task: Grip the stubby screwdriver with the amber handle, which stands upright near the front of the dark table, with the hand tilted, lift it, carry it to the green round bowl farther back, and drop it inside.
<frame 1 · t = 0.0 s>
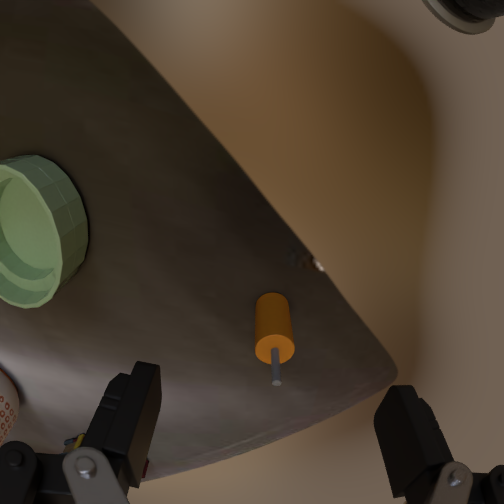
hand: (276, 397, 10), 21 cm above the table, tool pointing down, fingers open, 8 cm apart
screwdriver: (272, 306, 33), on the table
planter: (0, 379, 42), on the table
green round bowl: (35, 221, 30), on the table
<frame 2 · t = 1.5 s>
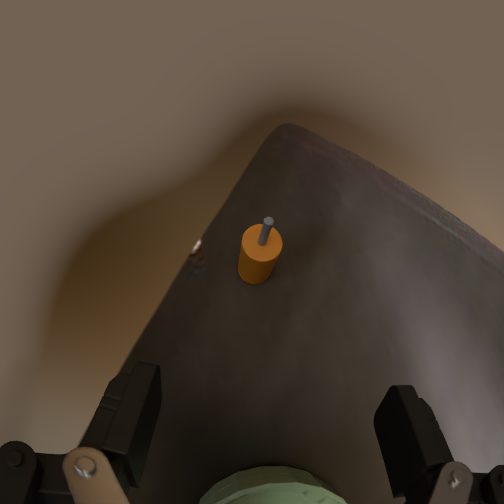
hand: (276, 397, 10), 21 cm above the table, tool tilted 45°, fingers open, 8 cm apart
screwdriver: (254, 268, 34), on the table
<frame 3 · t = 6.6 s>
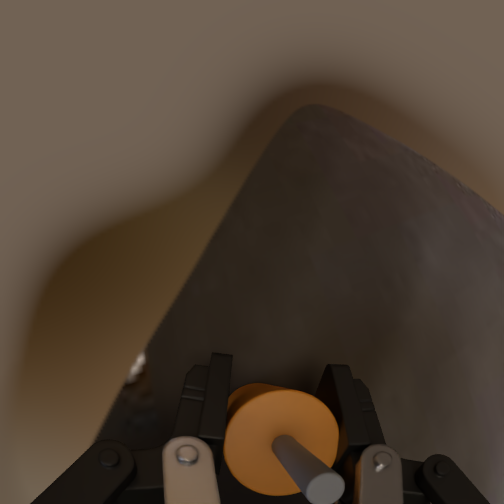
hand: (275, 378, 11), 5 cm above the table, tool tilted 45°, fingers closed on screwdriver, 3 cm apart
screwdriver: (257, 416, 14), on the table, touching gripper
when the fingers open (5 cm above the table, at t = 16.1 s): screwdriver stays where it is, resting on green round bowl.
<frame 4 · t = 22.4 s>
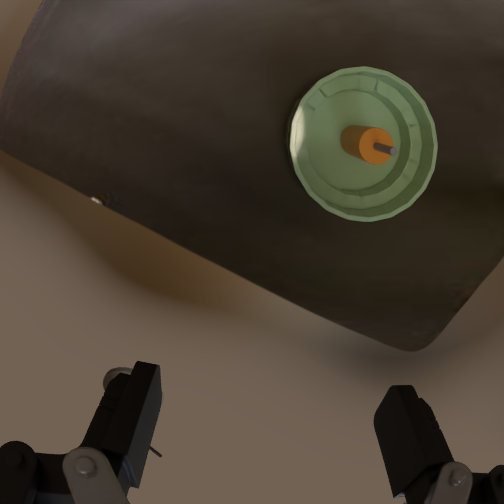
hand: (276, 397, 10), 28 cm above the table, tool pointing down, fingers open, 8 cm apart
screwdriver: (354, 140, 33), point 1 cm above the table, touching green round bowl
green round bowl: (352, 140, 33), on the table
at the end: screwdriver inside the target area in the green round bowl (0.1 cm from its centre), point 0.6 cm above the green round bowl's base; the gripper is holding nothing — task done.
